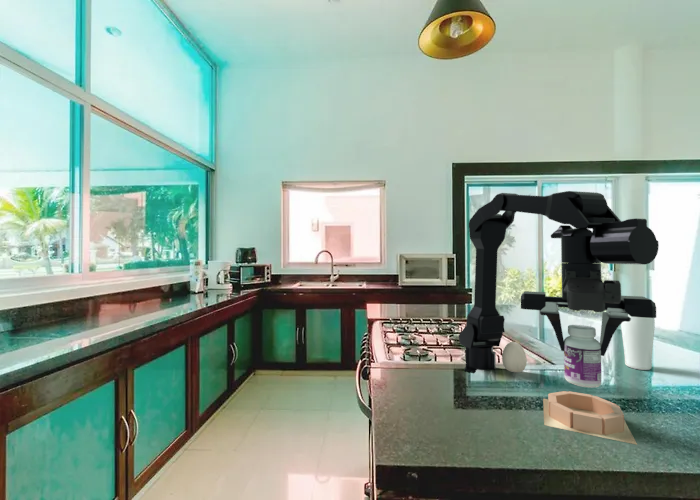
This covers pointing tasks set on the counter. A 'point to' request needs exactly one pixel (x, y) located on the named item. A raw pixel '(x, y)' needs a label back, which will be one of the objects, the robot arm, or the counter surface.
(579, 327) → the pill bottle
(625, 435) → the board
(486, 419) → the counter surface
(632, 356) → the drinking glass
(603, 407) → the collar
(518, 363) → the egg
